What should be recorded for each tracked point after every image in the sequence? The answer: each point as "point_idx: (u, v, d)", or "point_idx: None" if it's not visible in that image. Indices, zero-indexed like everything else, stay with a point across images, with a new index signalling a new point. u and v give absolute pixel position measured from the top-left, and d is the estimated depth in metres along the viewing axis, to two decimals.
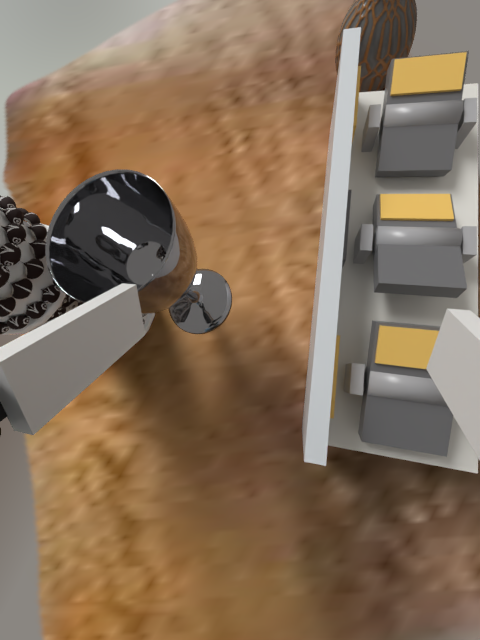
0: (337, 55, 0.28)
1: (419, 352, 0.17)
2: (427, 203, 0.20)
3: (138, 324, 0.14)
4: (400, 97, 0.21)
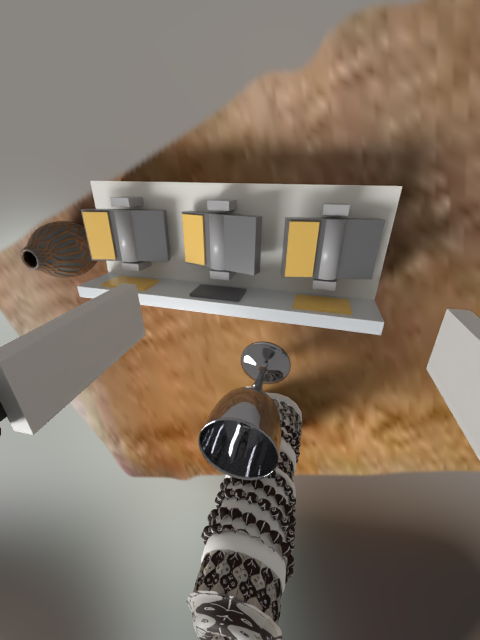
0: (78, 275, 0.37)
1: (304, 249, 0.24)
2: (191, 231, 0.27)
3: (138, 324, 0.14)
4: (116, 252, 0.29)
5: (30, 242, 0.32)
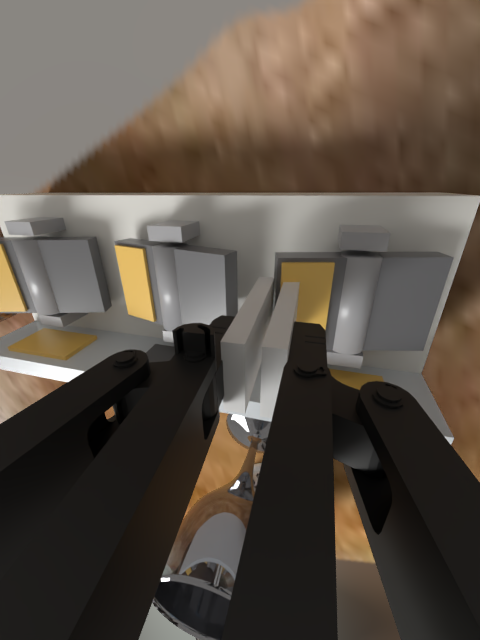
0: None
1: (308, 307, 0.14)
2: (129, 271, 0.17)
3: (271, 316, 0.14)
4: (26, 301, 0.19)
5: None
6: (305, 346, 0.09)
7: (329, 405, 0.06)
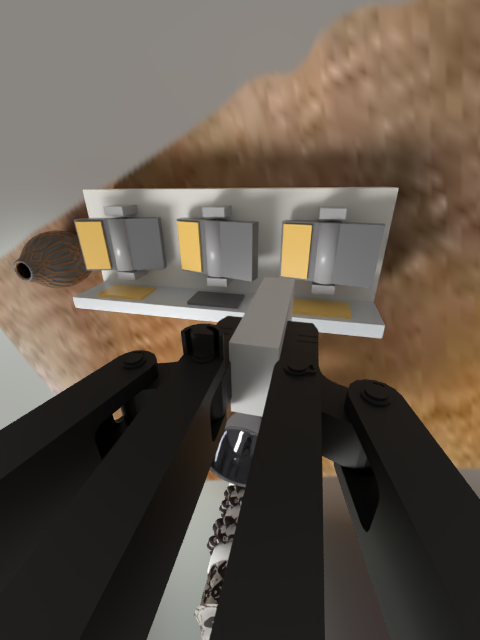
0: None
1: (298, 251, 0.24)
2: (186, 238, 0.27)
3: None
4: (111, 261, 0.29)
5: (23, 253, 0.31)
6: (298, 345, 0.09)
7: (318, 403, 0.06)
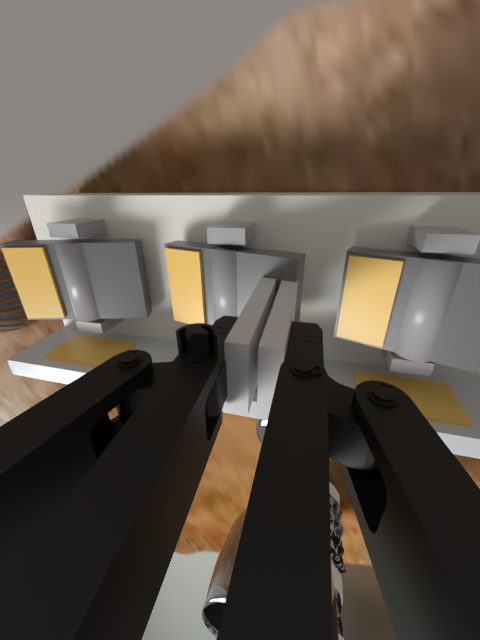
0: None
1: (371, 302, 0.14)
2: (180, 275, 0.16)
3: None
4: (65, 307, 0.18)
5: None
6: (302, 345, 0.09)
7: (325, 404, 0.06)
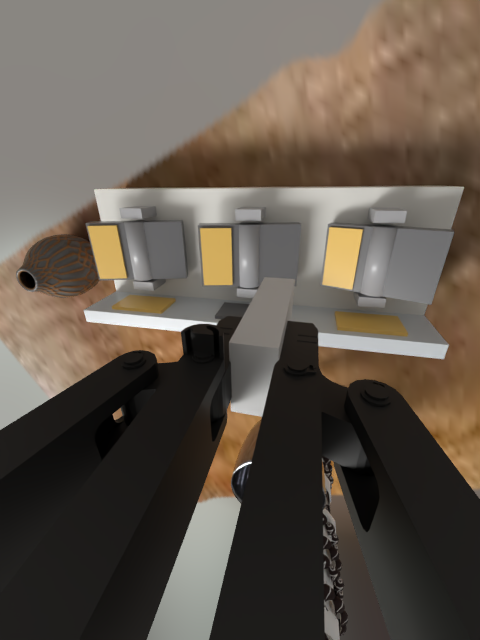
0: None
1: (344, 258, 0.22)
2: (213, 248, 0.22)
3: None
4: (127, 270, 0.25)
5: (26, 261, 0.28)
6: (298, 345, 0.09)
7: (318, 403, 0.06)
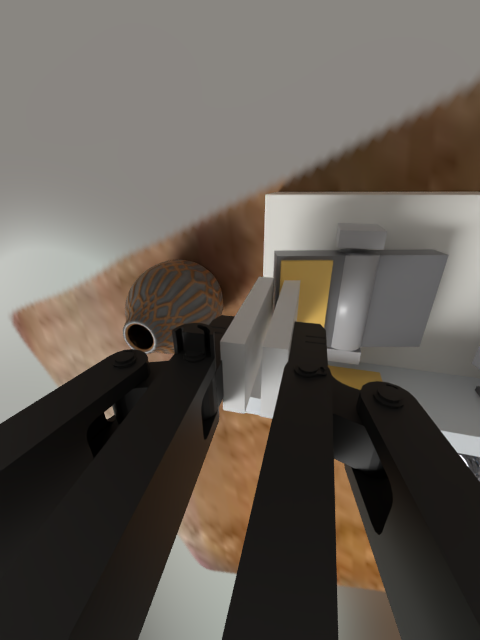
0: None
1: None
2: None
3: (271, 316, 0.14)
4: (326, 332, 0.15)
5: (138, 306, 0.18)
6: (306, 346, 0.09)
7: (329, 405, 0.06)
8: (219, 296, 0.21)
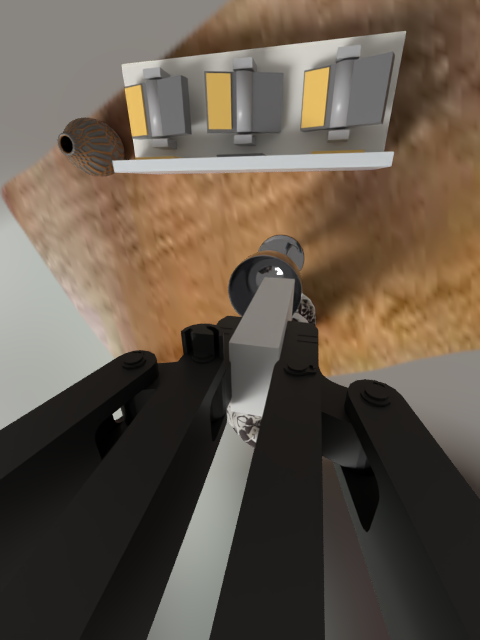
0: (106, 174, 0.40)
1: (316, 97, 0.28)
2: (216, 92, 0.28)
3: None
4: (148, 127, 0.33)
5: (66, 130, 0.35)
6: (298, 344, 0.09)
7: (318, 403, 0.06)
8: (117, 141, 0.38)
